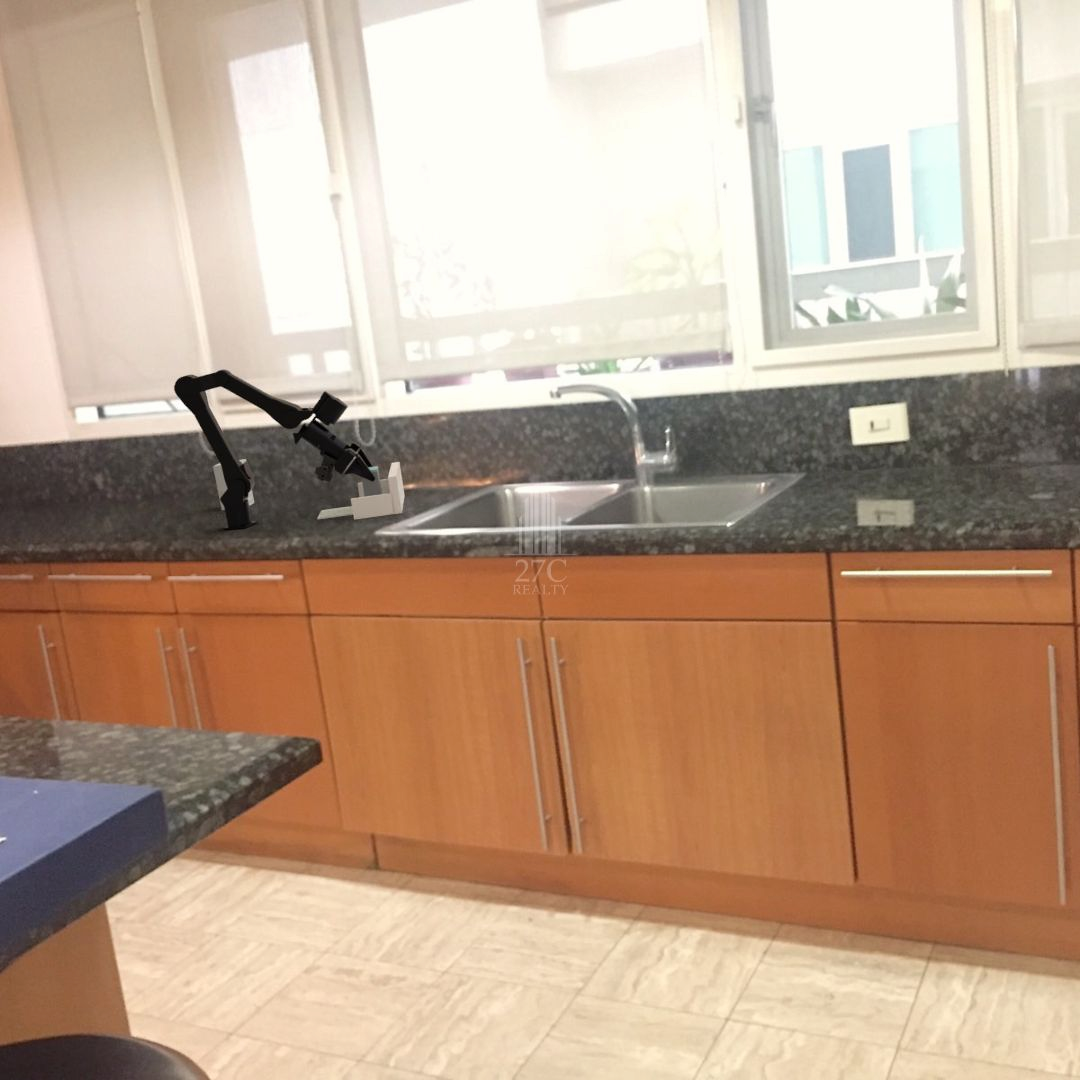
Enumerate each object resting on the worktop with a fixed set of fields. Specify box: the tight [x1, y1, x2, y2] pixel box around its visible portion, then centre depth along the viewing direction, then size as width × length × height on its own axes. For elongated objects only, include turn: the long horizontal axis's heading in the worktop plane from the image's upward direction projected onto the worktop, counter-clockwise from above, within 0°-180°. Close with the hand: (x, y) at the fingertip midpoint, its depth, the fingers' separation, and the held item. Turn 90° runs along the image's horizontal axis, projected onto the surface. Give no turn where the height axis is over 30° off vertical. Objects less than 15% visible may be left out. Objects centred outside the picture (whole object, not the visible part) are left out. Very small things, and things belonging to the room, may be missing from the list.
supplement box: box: [212, 458, 255, 511], centre depth 328 cm, size 7×7×13 cm
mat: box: [316, 505, 353, 520], centre depth 298 cm, size 10×11×1 cm
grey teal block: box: [361, 465, 382, 497], centre depth 297 cm, size 4×6×10 cm, turn 5°
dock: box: [350, 461, 405, 520], centre depth 297 cm, size 12×26×9 cm, turn 5°
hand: (375, 477), depth 297 cm, fingers open, 9 cm apart
